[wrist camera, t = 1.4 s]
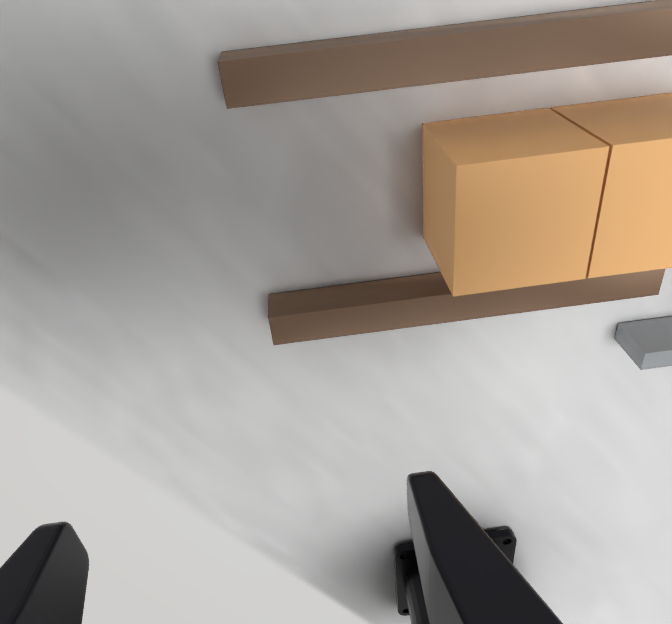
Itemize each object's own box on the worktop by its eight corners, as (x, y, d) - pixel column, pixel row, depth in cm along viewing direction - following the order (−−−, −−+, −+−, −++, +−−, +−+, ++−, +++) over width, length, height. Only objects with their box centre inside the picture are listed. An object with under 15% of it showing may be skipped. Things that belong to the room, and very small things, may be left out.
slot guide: (636, 273, 22) (658, 294, 20) (273, 321, 21) (273, 345, 20) (703, -5, 16) (739, 0, 15) (222, 51, 16) (217, 61, 15)
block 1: (533, 222, 20) (585, 278, 17) (422, 236, 20) (453, 296, 17) (546, 106, 18) (609, 146, 14) (421, 122, 18) (456, 165, 14)
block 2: (645, 207, 20) (718, 261, 17) (536, 222, 20) (588, 278, 17) (673, 91, 18) (763, 127, 15) (549, 106, 18) (612, 145, 14)
